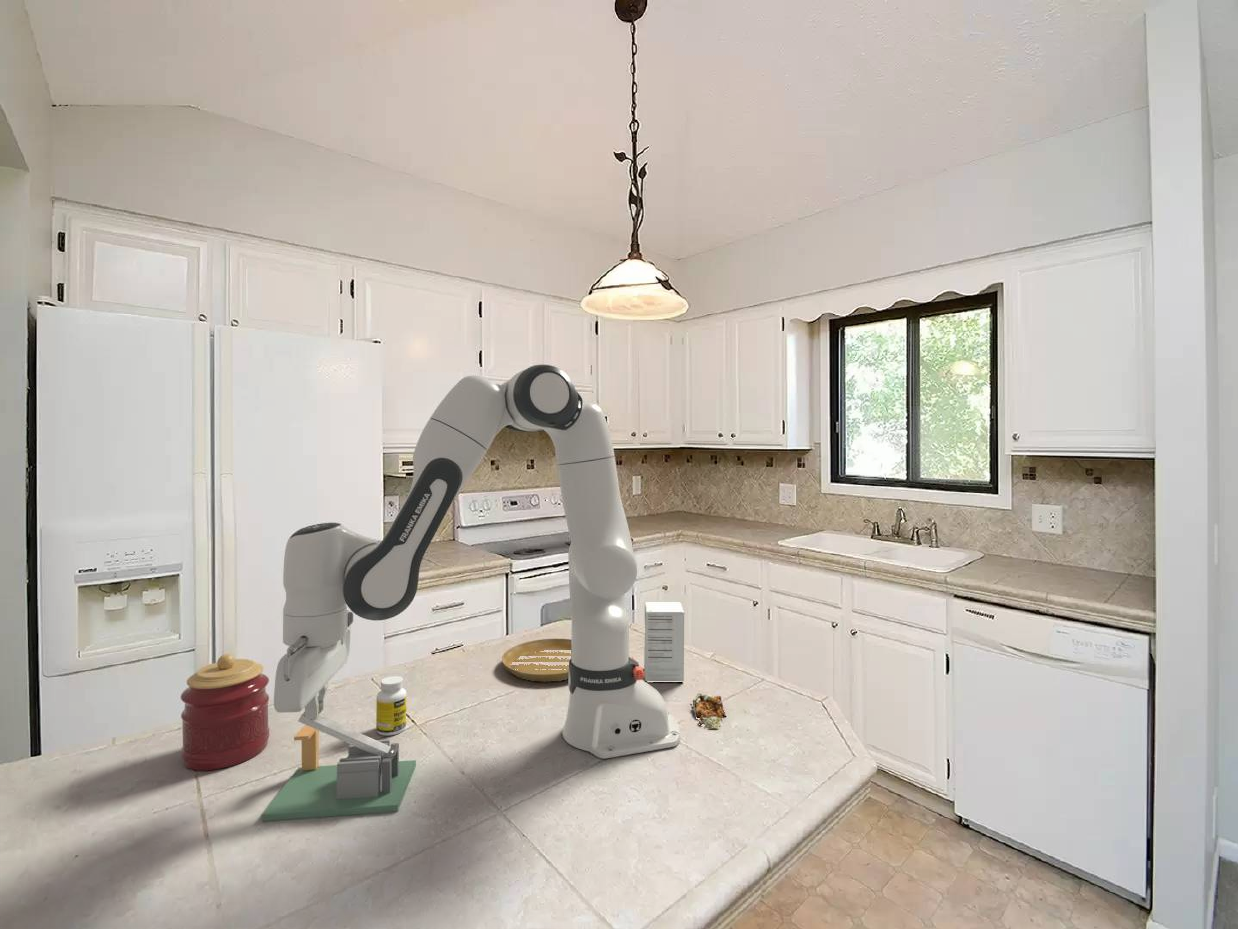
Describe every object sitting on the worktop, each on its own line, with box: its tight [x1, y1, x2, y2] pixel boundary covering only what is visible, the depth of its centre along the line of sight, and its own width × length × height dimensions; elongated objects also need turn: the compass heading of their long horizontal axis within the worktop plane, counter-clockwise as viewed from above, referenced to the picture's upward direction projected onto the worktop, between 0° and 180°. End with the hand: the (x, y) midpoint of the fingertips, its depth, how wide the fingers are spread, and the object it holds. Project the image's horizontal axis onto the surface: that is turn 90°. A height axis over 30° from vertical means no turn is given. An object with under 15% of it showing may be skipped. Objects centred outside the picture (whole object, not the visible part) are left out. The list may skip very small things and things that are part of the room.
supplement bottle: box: [375, 675, 407, 737], centre depth 110 cm, size 5×5×10 cm
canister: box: [180, 653, 270, 771], centre depth 102 cm, size 13×13×18 cm
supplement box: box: [643, 601, 685, 681], centre depth 138 cm, size 10×9×17 cm
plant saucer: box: [501, 638, 571, 683], centre depth 143 cm, size 24×24×3 cm
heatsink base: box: [261, 738, 417, 822], centre depth 91 cm, size 19×12×6 cm, turn 97°
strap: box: [297, 711, 398, 762], centre depth 90 cm, size 16×3×1 cm, turn 99°
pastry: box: [692, 692, 726, 730], centre depth 117 cm, size 7×12×4 cm, turn 3°
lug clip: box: [293, 724, 320, 770], centre depth 94 cm, size 2×4×7 cm, turn 7°
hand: (314, 714), depth 89 cm, fingers closed, pressing on strap
